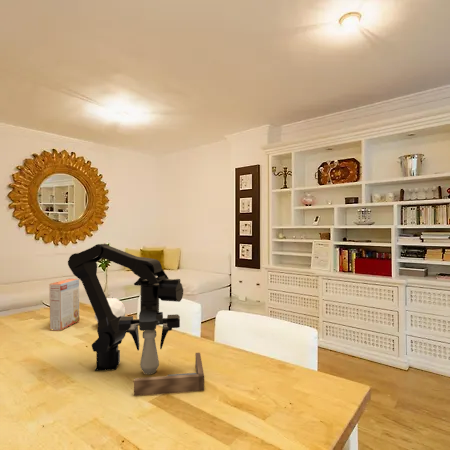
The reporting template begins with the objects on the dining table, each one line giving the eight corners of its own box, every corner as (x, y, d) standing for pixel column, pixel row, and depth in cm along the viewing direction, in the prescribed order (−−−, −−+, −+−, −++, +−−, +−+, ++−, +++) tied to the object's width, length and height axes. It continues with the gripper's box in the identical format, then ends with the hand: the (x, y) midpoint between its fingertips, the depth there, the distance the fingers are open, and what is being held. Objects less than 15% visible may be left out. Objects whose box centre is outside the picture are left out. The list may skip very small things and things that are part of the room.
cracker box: (68, 321, 155) (68, 278, 155) (79, 321, 154) (80, 278, 154) (48, 330, 141) (48, 283, 141) (61, 331, 140) (61, 283, 140)
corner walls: (133, 395, 86) (133, 380, 86) (141, 368, 103) (141, 355, 103) (204, 390, 89) (204, 376, 89) (200, 364, 106) (200, 352, 106)
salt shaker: (154, 376, 97) (153, 333, 97) (136, 375, 98) (136, 332, 98) (162, 368, 103) (161, 327, 103) (145, 367, 104) (145, 326, 104)
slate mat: (166, 390, 89) (166, 388, 89) (167, 375, 98) (167, 374, 98) (198, 388, 90) (198, 386, 90) (196, 374, 99) (196, 372, 99)
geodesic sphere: (83, 314, 147) (94, 292, 142) (109, 307, 158) (120, 287, 154) (98, 337, 140) (110, 315, 136) (124, 329, 152) (135, 309, 147)
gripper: (113, 307, 91) (113, 361, 91) (179, 304, 94) (179, 358, 94) (120, 298, 102) (120, 347, 102) (179, 296, 105) (179, 344, 105)
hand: (149, 349), depth 100 cm, fingers open, 7 cm apart
